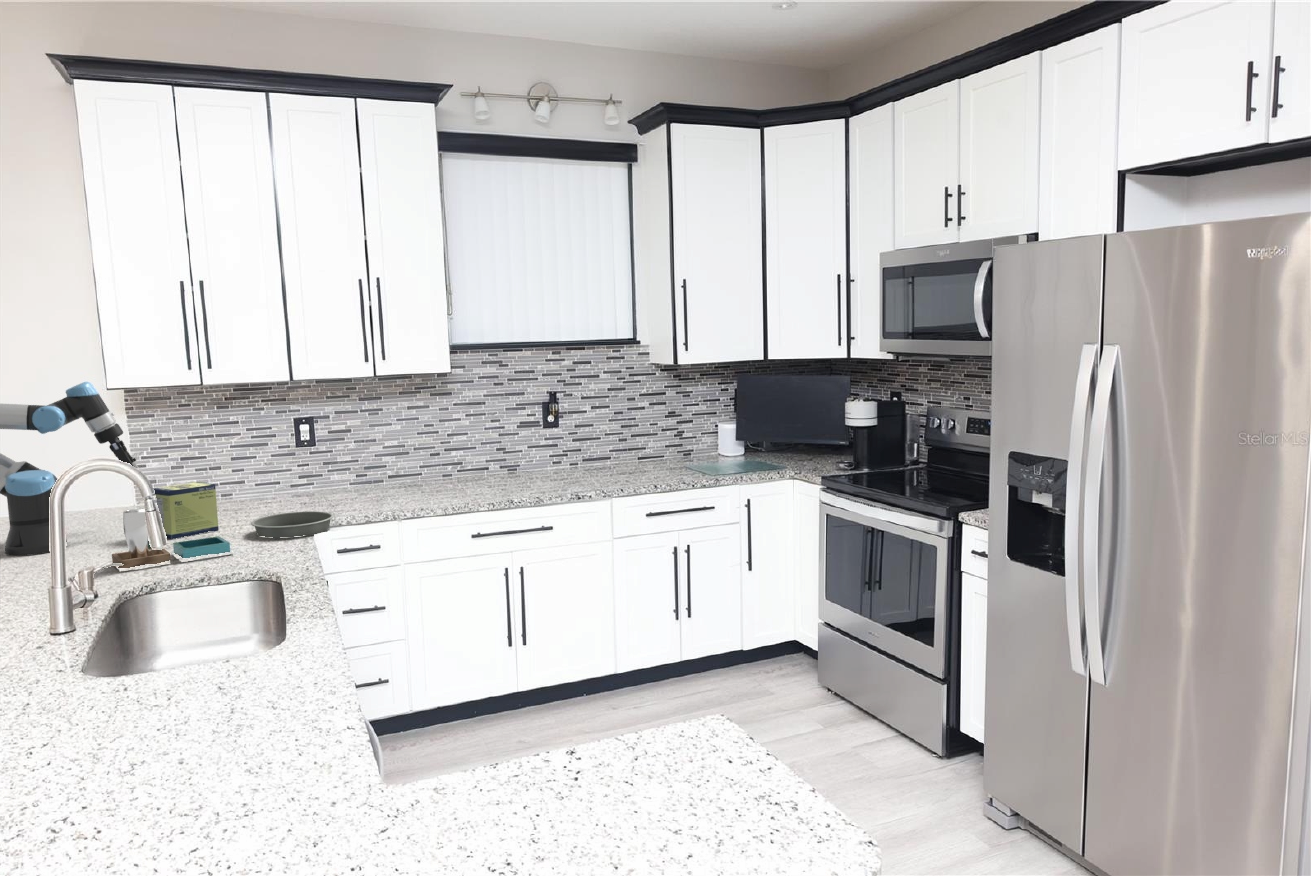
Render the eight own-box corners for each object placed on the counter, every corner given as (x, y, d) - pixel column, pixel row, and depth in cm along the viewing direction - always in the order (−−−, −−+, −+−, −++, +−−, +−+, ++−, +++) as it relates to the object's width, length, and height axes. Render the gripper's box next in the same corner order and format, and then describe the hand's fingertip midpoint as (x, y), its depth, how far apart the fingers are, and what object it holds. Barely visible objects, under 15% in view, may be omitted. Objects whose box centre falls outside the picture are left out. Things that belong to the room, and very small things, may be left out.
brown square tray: (120, 572, 225) (119, 561, 224) (112, 564, 234) (111, 553, 233) (171, 564, 232) (170, 553, 232) (162, 556, 241) (161, 546, 241)
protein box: (219, 530, 278) (216, 483, 276) (171, 539, 265) (167, 490, 263) (202, 527, 283) (198, 481, 282) (154, 536, 270) (149, 488, 269)
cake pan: (234, 540, 263) (233, 525, 262) (280, 524, 287) (279, 511, 287) (308, 540, 260) (307, 526, 259) (348, 524, 284) (347, 511, 283)
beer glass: (144, 560, 237) (139, 507, 236) (162, 562, 235) (157, 508, 233) (121, 566, 231) (116, 512, 230) (139, 568, 228) (134, 513, 227)
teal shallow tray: (181, 562, 234) (180, 550, 233) (171, 555, 243) (170, 542, 243) (232, 554, 242) (232, 542, 242) (221, 547, 252) (220, 535, 251)
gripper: (117, 427, 264) (155, 485, 271) (117, 418, 285) (152, 472, 292) (92, 438, 261) (131, 496, 268) (93, 428, 281) (129, 483, 289)
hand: (142, 484), depth 280 cm, fingers open, 13 cm apart
